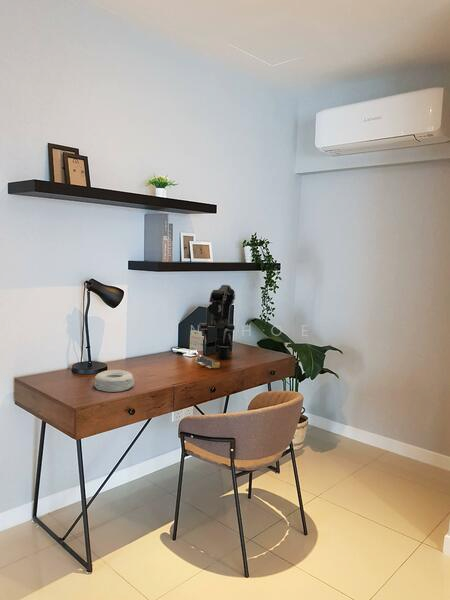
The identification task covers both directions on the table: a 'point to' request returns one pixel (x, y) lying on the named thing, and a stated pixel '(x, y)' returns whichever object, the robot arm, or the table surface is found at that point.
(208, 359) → the swing arm
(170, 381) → the table surface
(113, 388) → the grey stone ring
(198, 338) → the ink cartridge box
